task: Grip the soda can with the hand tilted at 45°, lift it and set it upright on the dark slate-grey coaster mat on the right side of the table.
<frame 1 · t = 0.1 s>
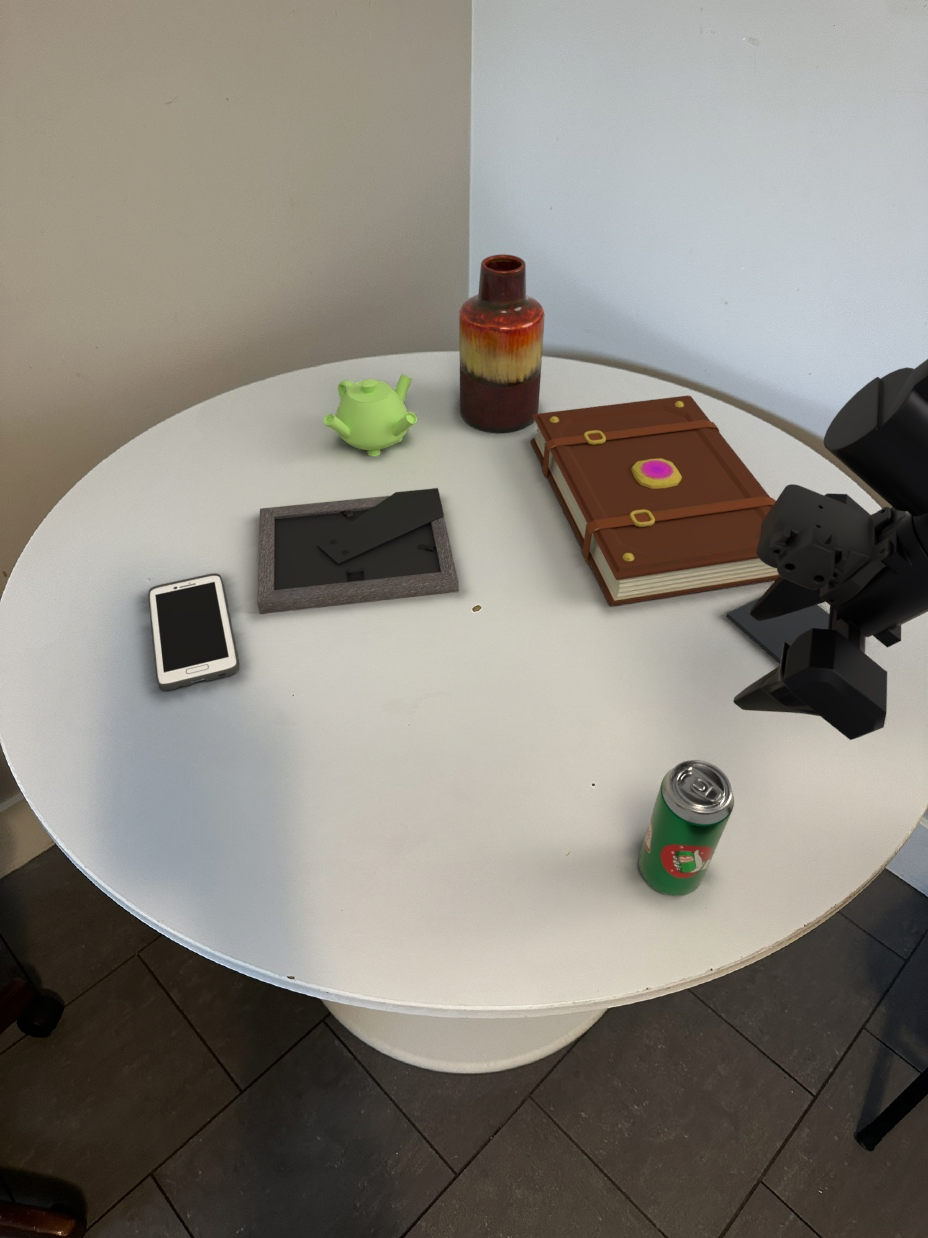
hand: (746, 658, 60), 16 cm above the table, tool tilted 35°, fingers open, 9 cm apart
coaster mat: (789, 627, 84), on the table
soda can: (669, 870, 65), on the table
picture frame: (355, 554, 92), on the table
cell phone: (193, 633, 83), on the table
vase: (498, 413, 113), on the table
book: (653, 504, 98), on the table
teapot: (378, 443, 108), on the table
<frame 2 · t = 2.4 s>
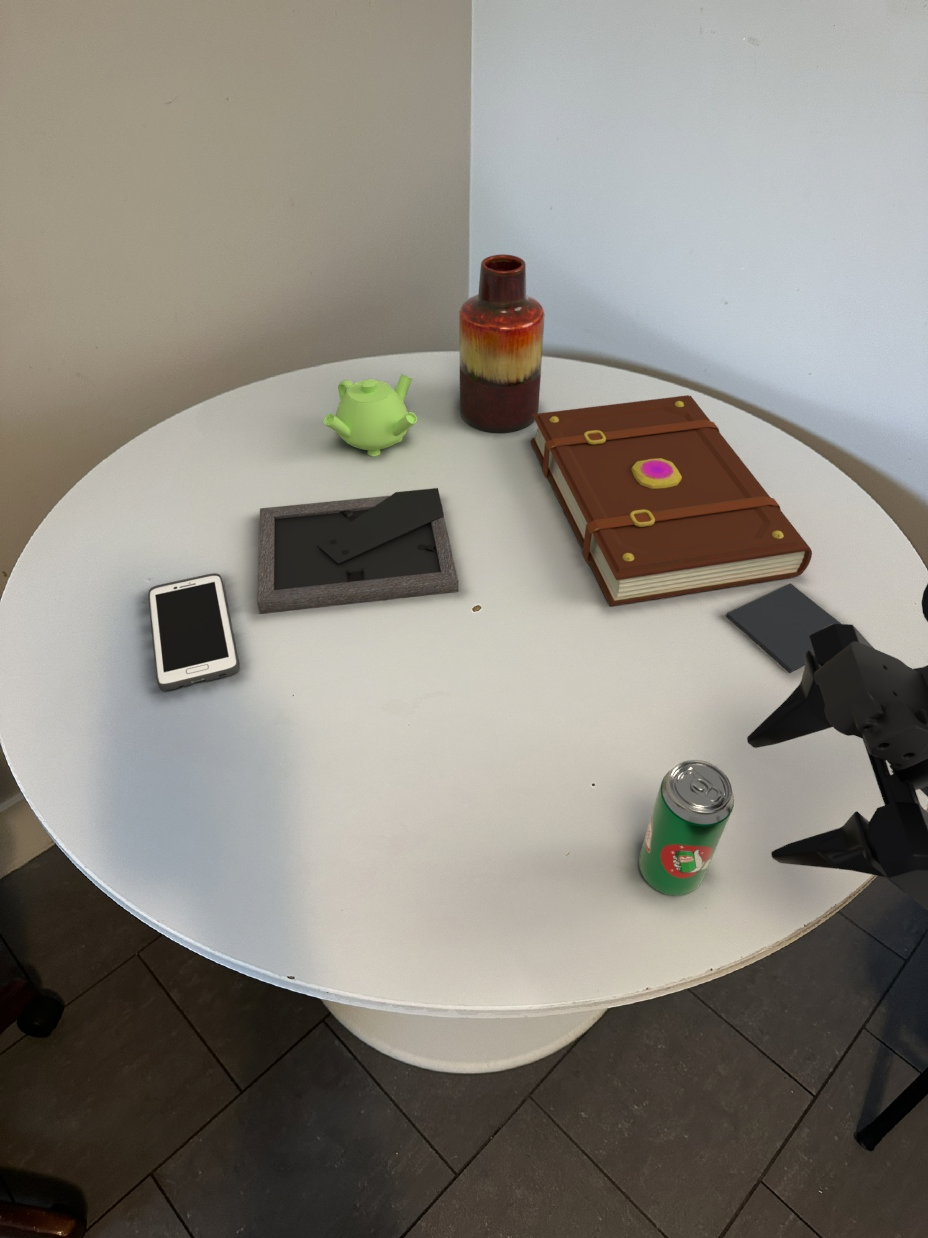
hand: (761, 797, 57), 11 cm above the table, tool tilted 45°, fingers open, 9 cm apart
nothing on the table moved.
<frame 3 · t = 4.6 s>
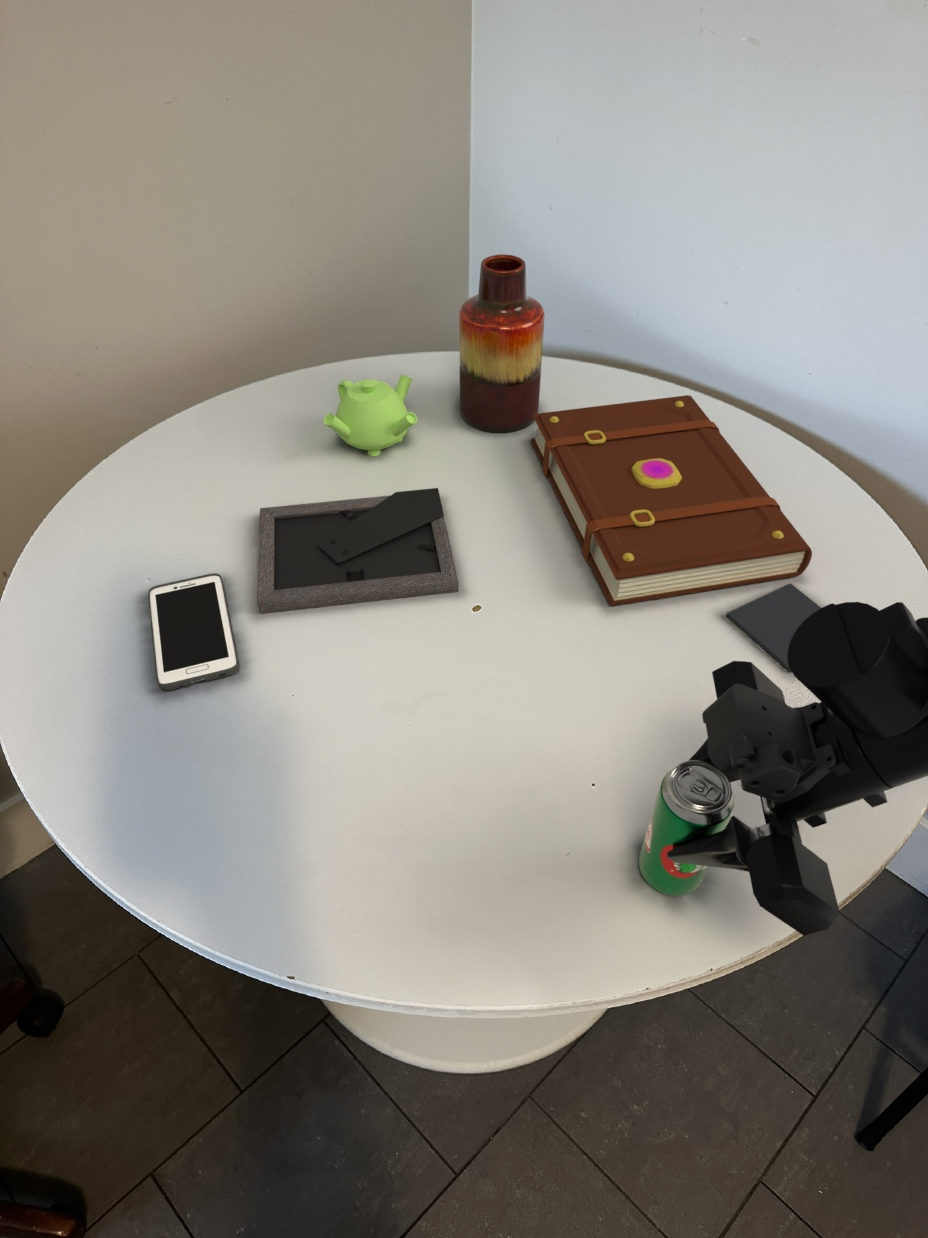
hand: (666, 824, 60), 7 cm above the table, tool tilted 45°, fingers closed on soda can, 5 cm apart
soda can: (669, 870, 65), on the table, touching gripper
everything else where it was.
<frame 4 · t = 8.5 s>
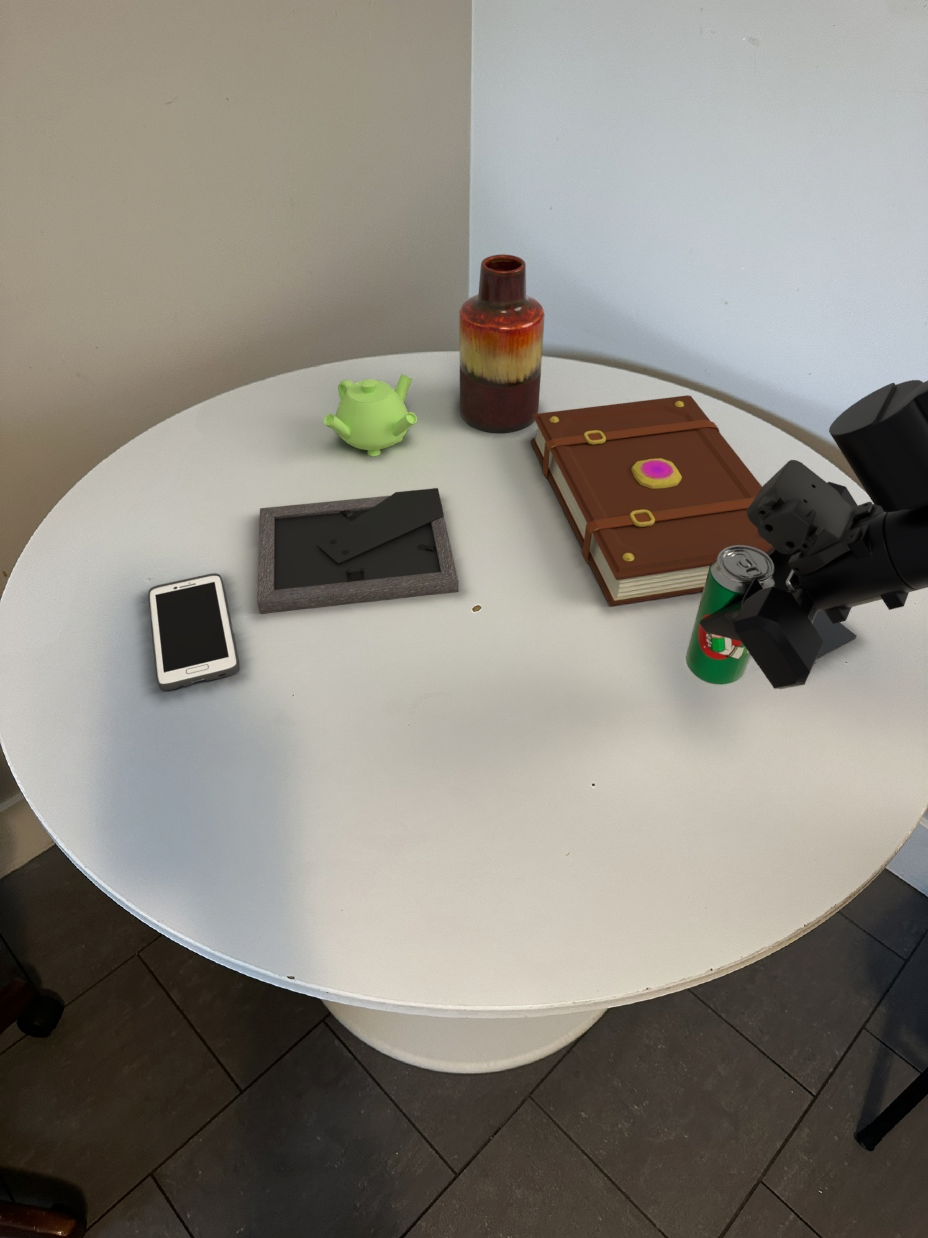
hand: (714, 606, 67), 13 cm above the table, tool tilted 45°, fingers closed on soda can, 5 cm apart
soda can: (713, 668, 71), point 7 cm above the table, touching gripper
everything else where it was.
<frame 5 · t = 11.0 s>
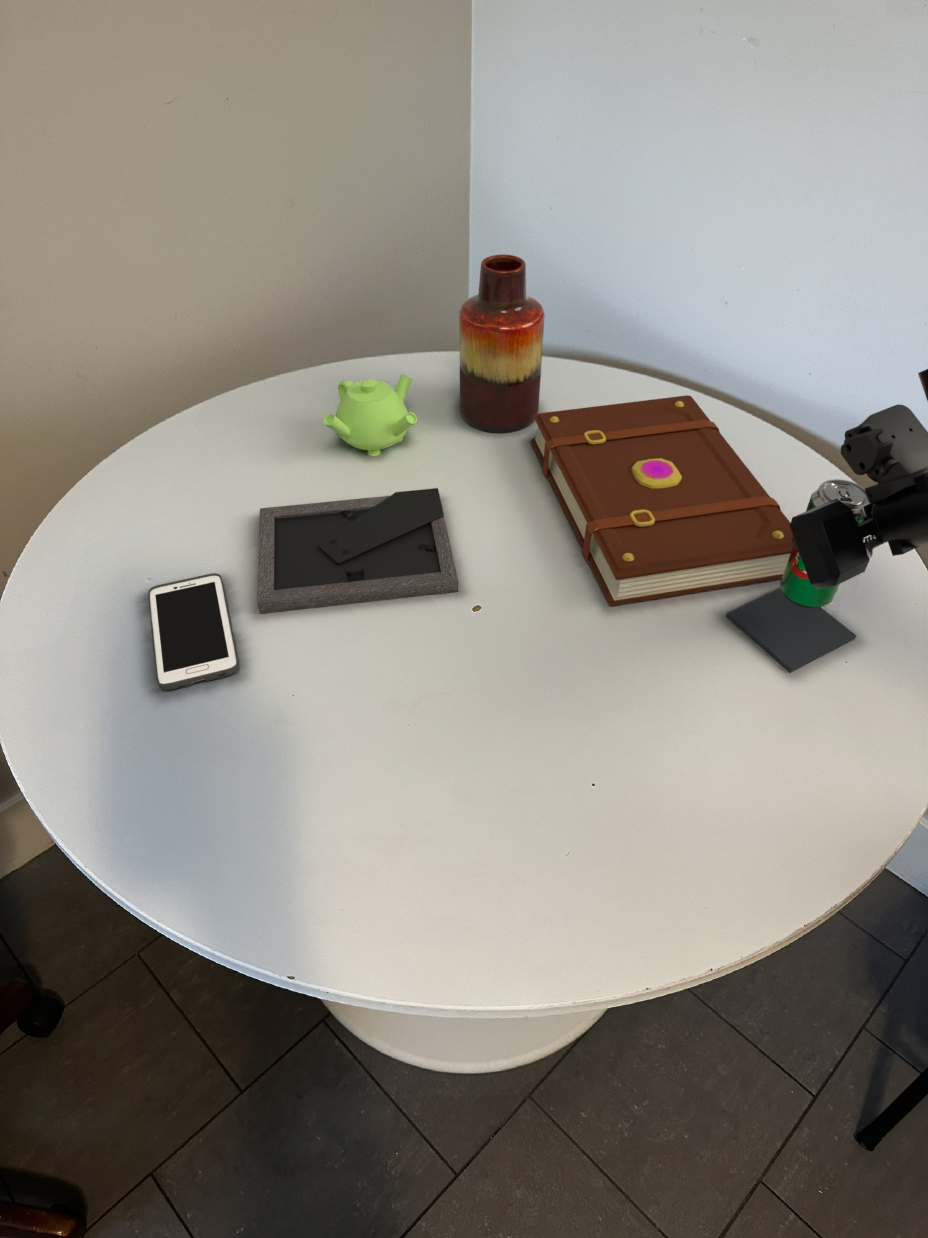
hand: (814, 533, 76), 12 cm above the table, tool tilted 45°, fingers closed on soda can, 5 cm apart
soda can: (804, 594, 80), point 5 cm above the table, touching gripper
everything else where it was.
when the fingers open (7 cm above the table, at t = 12.8 s): soda can stays where it is, resting on coaster mat.
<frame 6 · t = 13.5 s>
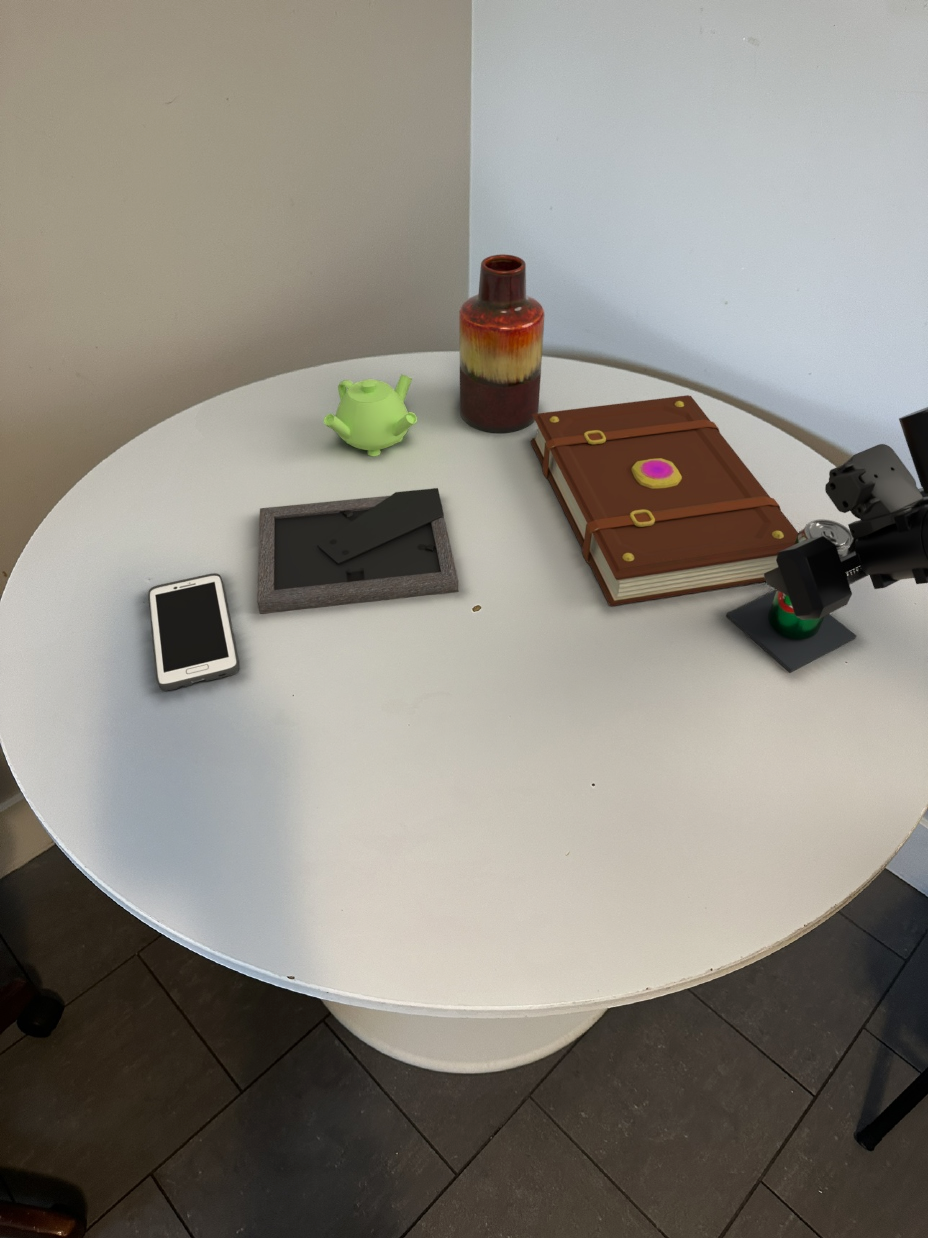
hand: (801, 562, 79), 8 cm above the table, tool tilted 45°, fingers open, 9 cm apart
soda can: (791, 626, 83), resting on coaster mat
everything else where it was.
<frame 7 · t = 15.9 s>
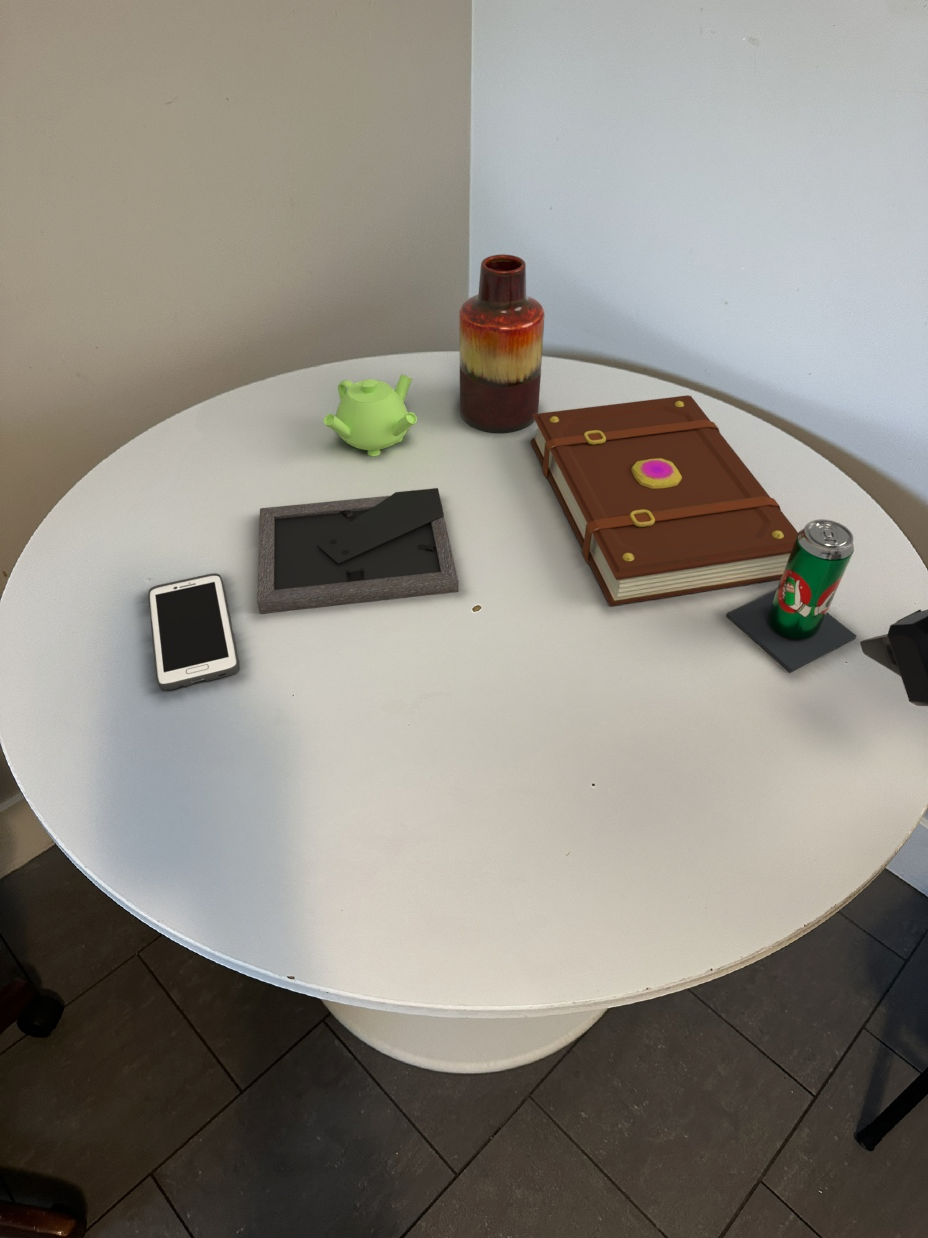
hand: (902, 627, 68), 11 cm above the table, tool tilted 45°, fingers open, 9 cm apart
nothing on the table moved.
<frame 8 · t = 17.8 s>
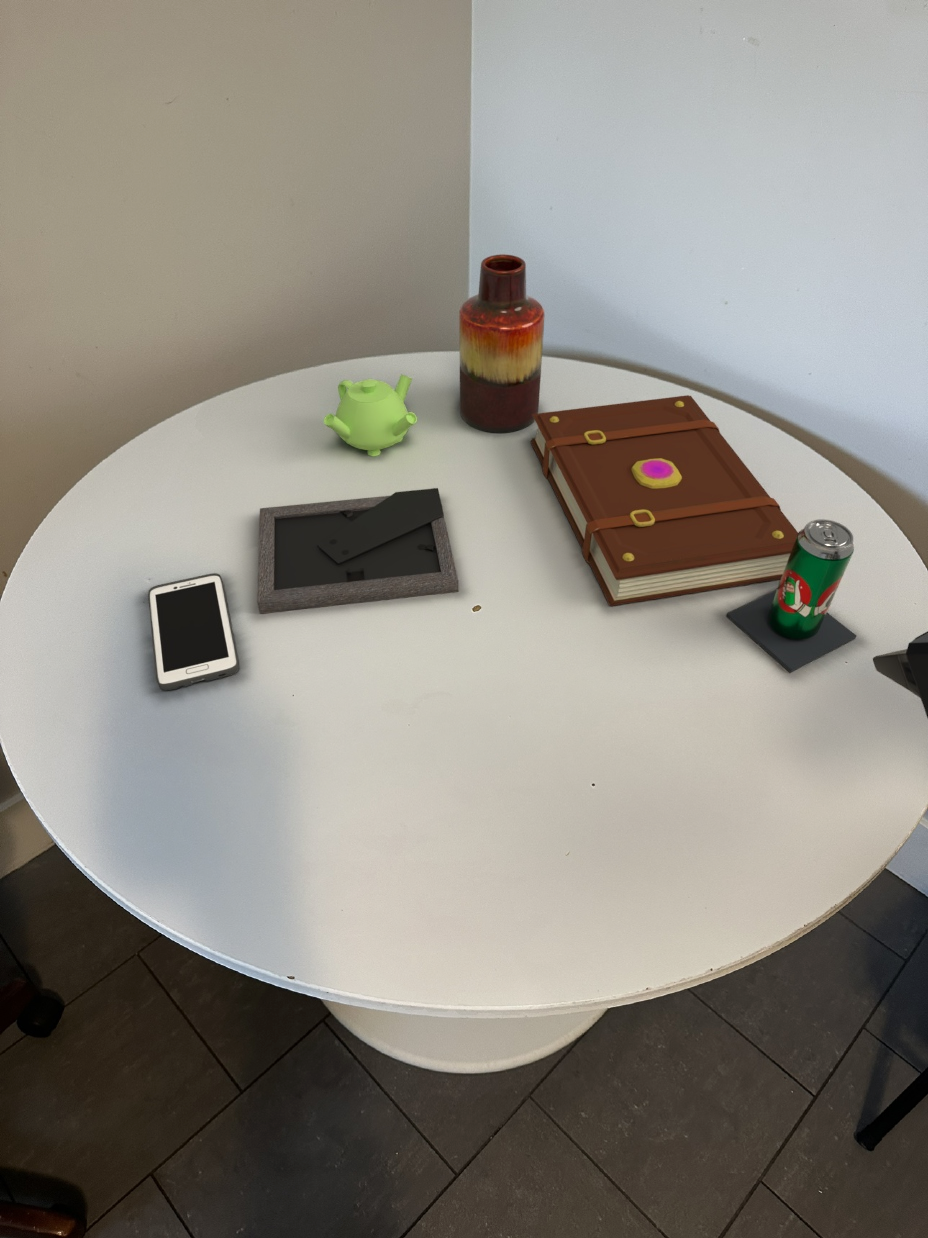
hand: (916, 641, 64), 14 cm above the table, tool tilted 45°, fingers open, 9 cm apart
nothing on the table moved.
at the end: soda can inside the target area on the coaster mat (0.1 cm from its centre), point 0.3 cm above the coaster mat's base; soda can tilted 0°; the gripper is holding nothing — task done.
